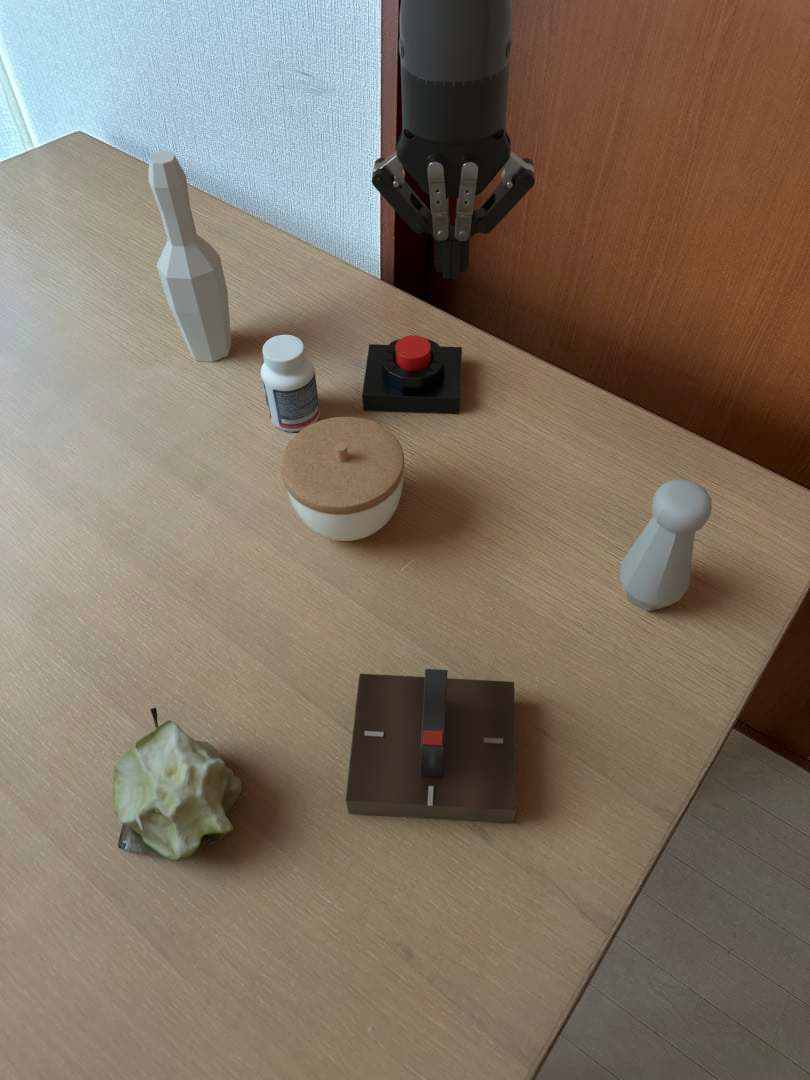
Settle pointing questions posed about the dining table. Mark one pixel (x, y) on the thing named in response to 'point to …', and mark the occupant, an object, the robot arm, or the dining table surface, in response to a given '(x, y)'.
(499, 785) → the handle panel
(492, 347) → the dining table surface
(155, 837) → the fruit
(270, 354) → the pill bottle
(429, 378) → the button block
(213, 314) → the faceted bottle
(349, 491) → the trinket box
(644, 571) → the salt shaker
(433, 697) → the handle
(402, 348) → the red button
